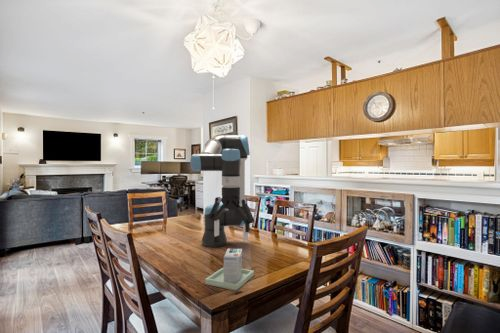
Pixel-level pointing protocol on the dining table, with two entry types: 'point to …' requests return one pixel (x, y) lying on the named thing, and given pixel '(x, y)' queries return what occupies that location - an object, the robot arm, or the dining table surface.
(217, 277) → the tray
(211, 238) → the robot arm
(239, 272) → the light bulb box
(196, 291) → the dining table surface
